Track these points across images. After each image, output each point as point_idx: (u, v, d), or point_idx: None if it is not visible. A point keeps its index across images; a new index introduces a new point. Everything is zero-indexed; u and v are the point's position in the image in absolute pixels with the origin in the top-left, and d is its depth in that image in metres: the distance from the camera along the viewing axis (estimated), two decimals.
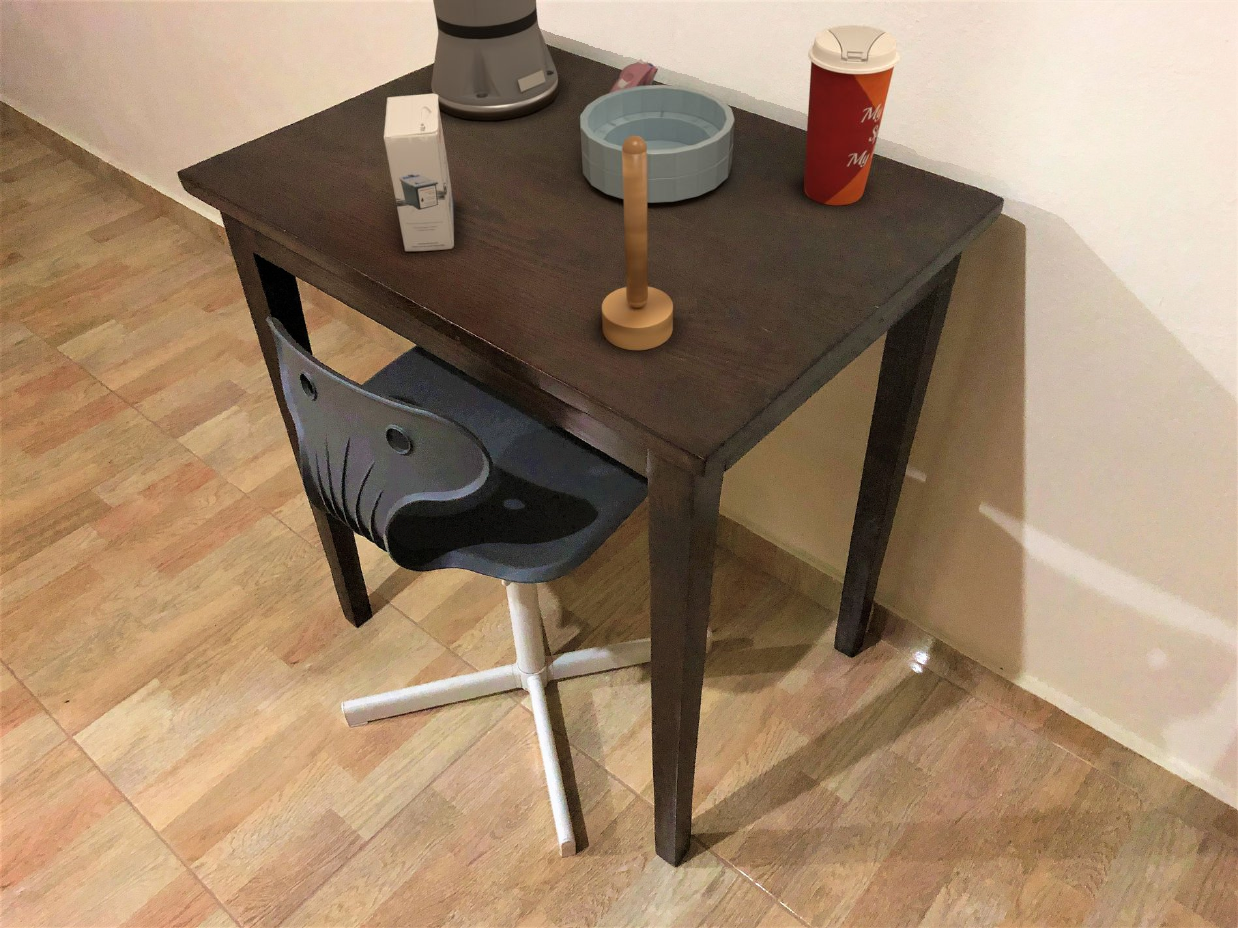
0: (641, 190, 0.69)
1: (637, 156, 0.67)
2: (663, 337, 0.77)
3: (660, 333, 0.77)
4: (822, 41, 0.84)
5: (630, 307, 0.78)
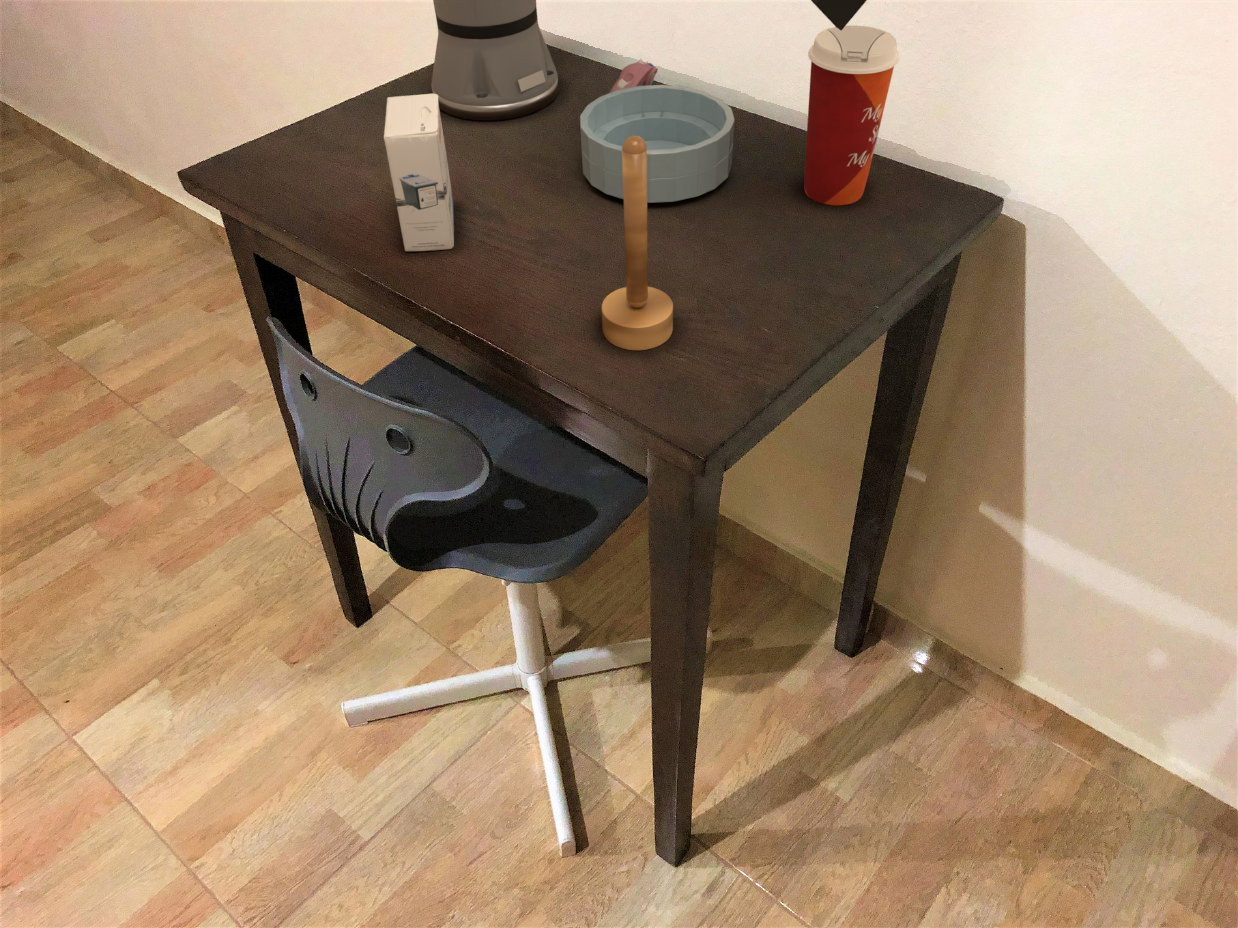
0: (641, 190, 0.69)
1: (637, 156, 0.67)
2: (663, 337, 0.77)
3: (660, 333, 0.77)
4: (822, 41, 0.84)
5: (630, 307, 0.78)
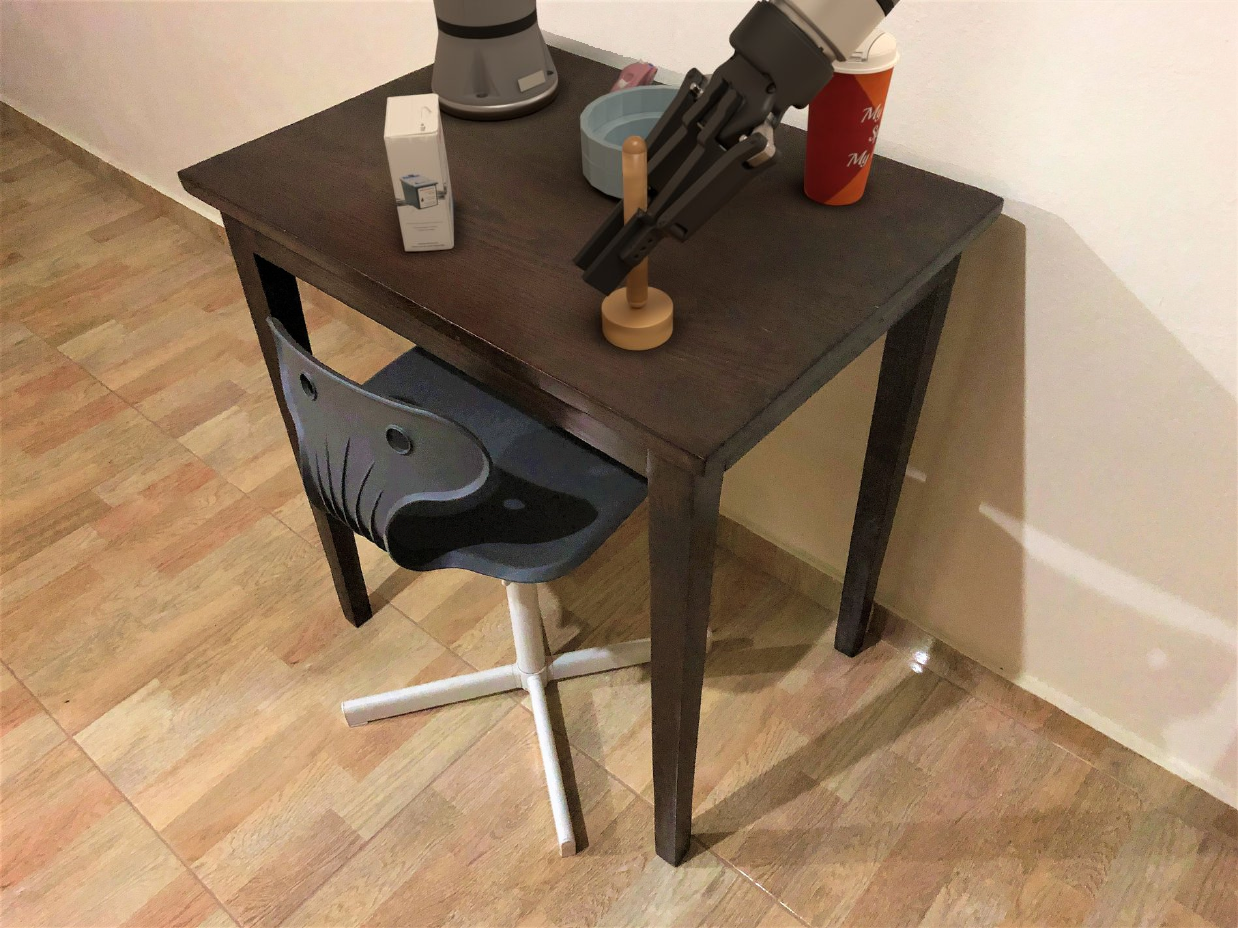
0: (641, 190, 0.69)
1: (637, 156, 0.67)
2: (663, 337, 0.77)
3: (660, 333, 0.77)
4: None
5: (630, 307, 0.78)
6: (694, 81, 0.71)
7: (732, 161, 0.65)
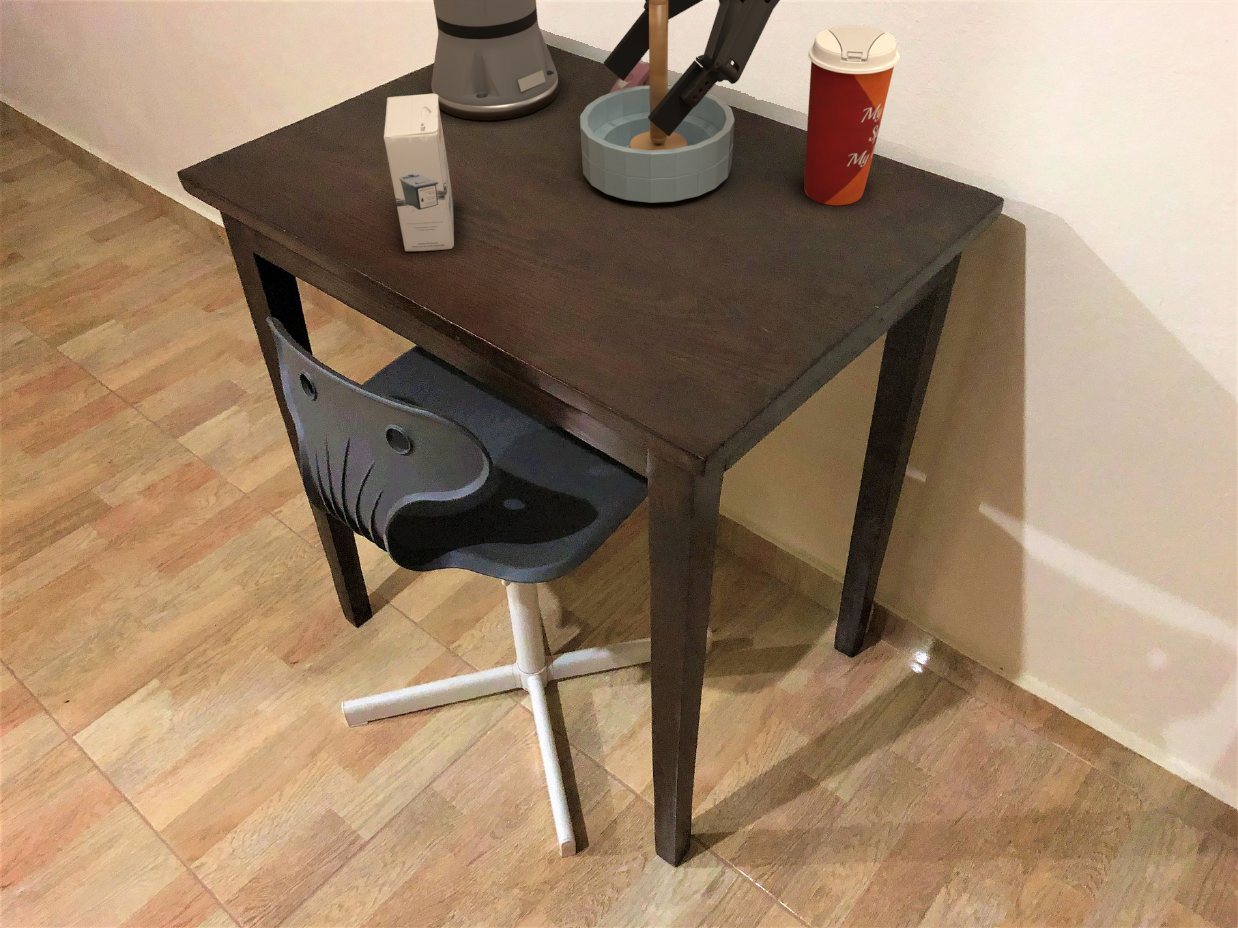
0: (663, 37, 0.88)
1: (660, 7, 0.86)
2: None
3: None
4: (822, 41, 0.84)
5: (652, 144, 0.96)
6: None
7: None
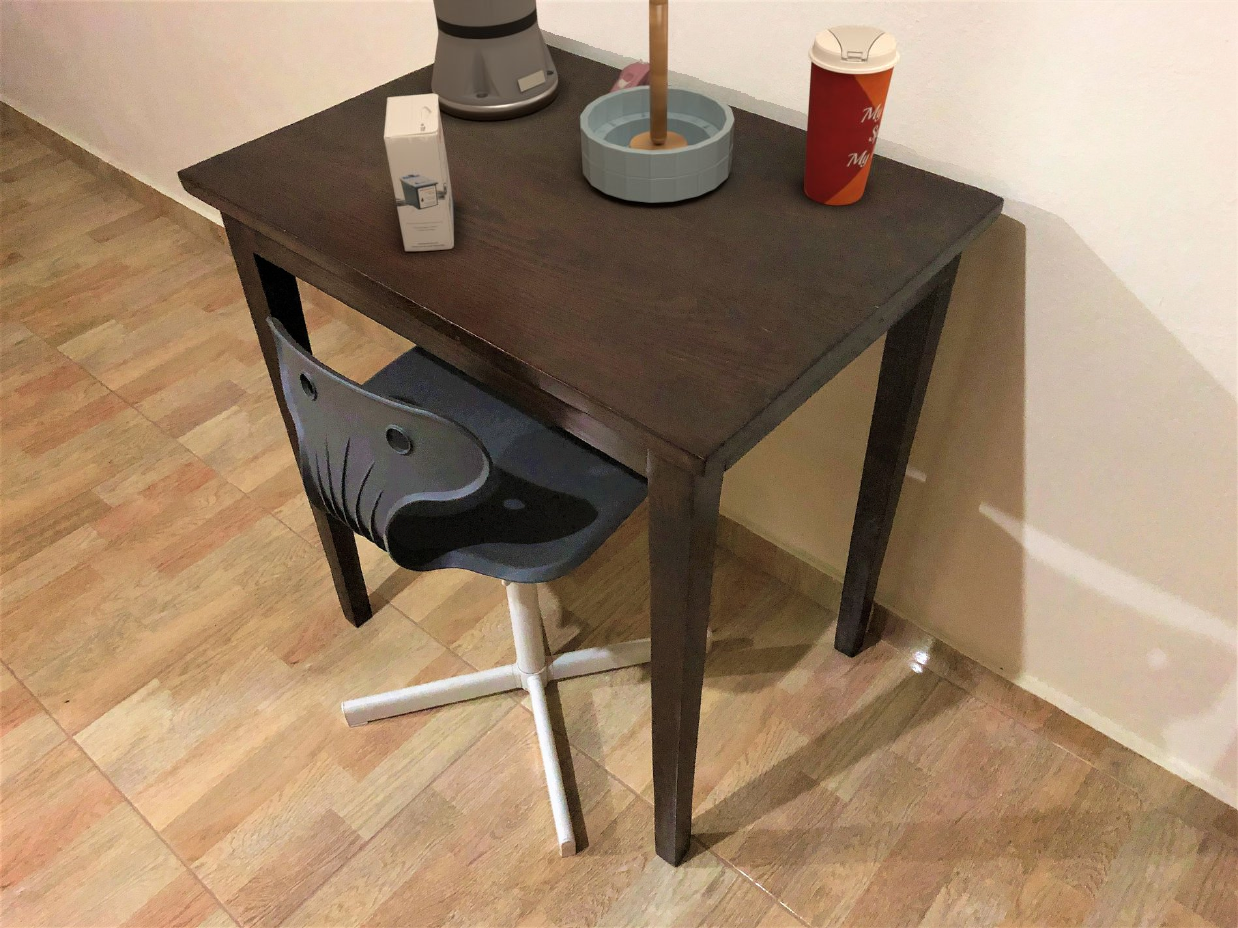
0: (663, 37, 0.88)
1: (660, 7, 0.86)
2: None
3: None
4: (822, 41, 0.84)
5: (652, 144, 0.96)
6: None
7: None
